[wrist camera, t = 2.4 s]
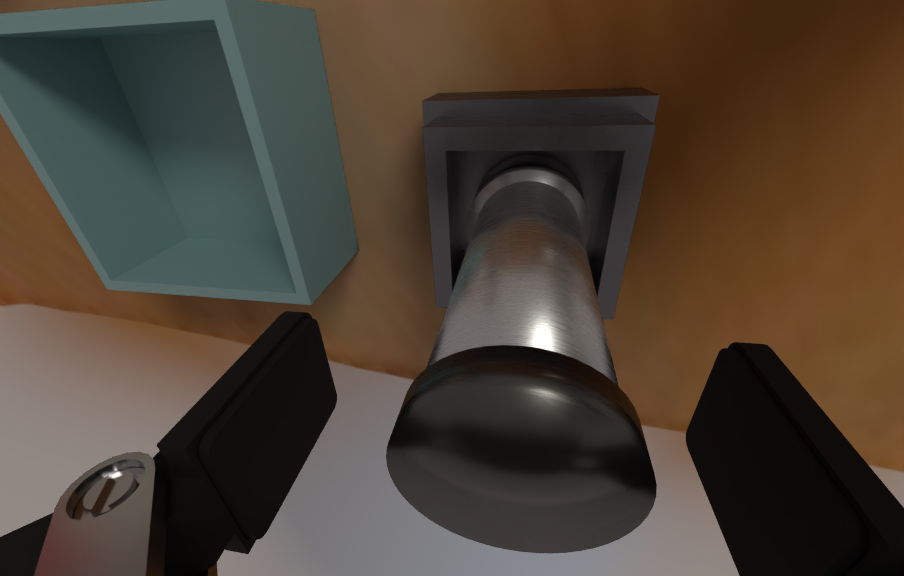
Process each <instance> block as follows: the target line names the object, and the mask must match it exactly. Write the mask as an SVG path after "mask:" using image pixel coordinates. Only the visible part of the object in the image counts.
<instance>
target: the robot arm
mask: <svg viewBox="0 0 904 576" xmlns="http://www.w3.org/2000/svg"><path fill="white" fill-rule="evenodd" d="M336 402H337V393H336V390H335V386H334V382H333V378H332V375H331V371H330V367H329V363H328V359H327V356H326V352H325V348H324V344H323V341H322V337H321V333H320V329H319V326H318V323H317V321H316V320H315V319H312V317H311V315H310V314H309V313H304V312H290V311H287V312H284V313H282V314H281V315H280V316H279V317H278V318H277V319H276V320H275V321H274V322H273V323H272V324H271V325H270V326H269V328H268V329H267V330H266V331H265V332H264V333H263V334H262V335H261V336H260V337H259V338H258V339H257V340H256V341H255V342H254V343H253V344H252V345H251V346H250V348H248V350H247V351H246V352H245V353H244V354H243V355H242V356H241V357H240V358H239V359H238V360H237V361H236V362H235V363H234V364H233V366H231V367H230V368H229V369H228V370H227V372H226V373H225V374H224V375H223V376H222V377H221V378H220V379H219V380H218V381H217V382H216V383H215V384H214V385H213V386H212V387H211V388H210V389H209V390H208V391H207V393H206V394H205V395H204V396H203V397H202V398H201V399H200V400H199V401H198V402H197V403H196V404H195V405H194V406H193V407H192V408H191V409H190V410H189V411H188V412H187V413H186V415H185V416H184V417H183V418H182V419H181V420H180V421H179V422H178V423H177V424H176V425H175V426H174V427H173V428H172V429H171V430H170V431H169V432H168V433H167V435H165V437H164V438H163V439H162V440H161V441H160V442H159V443H158V444H157V447H158V448H159V450H160V451H159V452H158V453H157V454H156V455H155V457H153V458H152V457H151V456H150V455H148V454H145V453H141V452H132V453H125V454H122V455H119V456H115V457H112V458H110V459H108V460H106V461H104V462H102V463H99V464H98V465H96V466H95V467H93V468H91V469H90V470H88V471H87V472H85V473H84V474H83V475H82V476H81V477H79V478H78V479H77V480H76V481H75V482H74V483H72V484H71V485H70V486H69V488H68V489H67V490H66V491H65V493H64V494H63V495H62V496H61V497H60V499H59V502H58V504H57V505H56V507H55V509H54V513H52V514H50V515H47V516H45V517H43V518H41V519H39V520H36V521H34V522H32V523H30V524H28V525H26V526H23V527H21V528H19V529H17V530H15V531H12V532H10V533H8V534H6V535H4V536H2V537H0V576H217V561H218V559H219V558H220V556H221V554H222V553H223V551H224V549H225V550H229V551H234V552H240V553H246V554H249V552H250V550H251V548H252V547H253V545H254V543H255V541H256V539H260V538H262V537H263V536H264V535H265V533H266V532H267V531H268V529H269V527H270V525H271V523H272V521H273V520H274V518H275V516H276V514H277V512H278V511H279V509H280V507H281V505H282V503H283V501H284V499H285V498H286V496H287V494H288V492H289V491H290V489H291V487H292V485H293V483H294V481H295V480H296V478H297V476H298V474H299V472H300V470H301V469H302V467H303V465H304V463H305V461H306V460H307V458H308V456H309V454H310V452H311V450H312V449H313V447H314V445H315V443H316V441H317V439H318V438H319V436H320V434H321V432H322V430H323V429H324V427H325V425H326V423H327V421H328V419H329V418H330V416H331V414H332V412H333V410H334V408H335V405H336ZM686 443H687V447H688V450H689V453H690V455H691V457H692V460H693V462H694V465H695V467H696V470H697V472H698V475H699V477H700V479H701V482H702V484H703V486H704V489H705V491H706V494H707V496H708V499H709V502H710V504H711V506H712V509H713V511H714V514H715V516H716V519H717V521H718V524H719V526H720V529H721V531H722V534H723V536H724V538H725V541H726V543H727V546H728V548H729V551H730V553H731V555H732V558H733V561H734V563H735V565H736V568H737V570H738V573H739V575H740V576H904V508H903V506H902V505H901V504H900V503H899V502H898V500H897V499H896V498H895V497H894V496H893V494H892V493H891V492H890V491H889V490H888V488H887V487H886V486H885V485H884V484H883V482H882V481H881V480H880V479H879V478H878V476H877V475H876V474H875V473H874V472H873V470H872V469H871V468H870V467H869V466H868V464H867V463H866V462H865V461H864V460H863V458H862V457H861V456H860V455H859V454H858V452H857V451H856V450H855V449H854V448H853V446H852V445H851V444H850V443H849V442H848V440H847V439H846V438H845V437H844V436H843V434H842V433H841V432H840V431H839V429H838V428H837V427H836V426H835V425H834V423H833V422H832V421H831V420H830V419H829V417H828V416H827V415H826V414H825V413H824V411H823V410H822V409H821V408H820V407H819V405H818V404H817V403H816V402H815V401H814V399H813V398H812V397H811V396H810V395H809V393H808V392H807V391H806V390H805V389H804V387H803V386H802V385H801V384H800V383H799V381H798V380H797V379H796V378H795V377H794V375H793V374H792V373H791V372H790V371H789V369H788V368H787V367H786V366H785V365H784V363H783V362H782V361H781V360H780V359H779V357H778V356H777V355H776V354H775V353H774V351H773V350H772V349H771V348H770V347H769V346H767V345H764V344H753V343H738V342H735V343H732V344H730V345H729V347H728V348H724V349H721V350H720V352H719V353H718V356H717V358H716V361H715V363H714V366H713V368H712V370H711V373H710V375H709V378H708V380H707V383H706V385H705V388H704V390H703V392H702V395H701V397H700V400H699V402H698V405H697V407H696V410H695V412H694V414H693V417H692V419H691V422H690V424H689V427H688V429H687V432H686Z"/></svg>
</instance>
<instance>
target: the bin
mask: <svg viewBox="0 0 904 576" xmlns="http://www.w3.org/2000/svg"><path fill="white" fill-rule="evenodd" d="M0 114H1V115H2V117H3V118H4V120H5V122H6V123H7V125H8V127H9V128H10V130H11V132H12V133H13V135H14V137H15V138H16V140H17V142H18V143H19V145H20V147H21V148H22V150H23V151H24V153H25V155H26V156H27V158H28V160H29V161H30V163H31V165H32V166H33V168H34V170H35V171H36V173H37V175H38V176H39V178H40V179H41V181H42V183H43V184H44V186H45V188H46V189H47V191H48V193H49V194H50V196H51V198H52V199H53V201H54V203H55V204H56V206H57V208H58V209H59V211H60V212H61V214H62V216H63V217H64V219H65V221H66V222H67V224H68V226H69V227H70V229H71V231H72V232H73V234H74V236H75V237H76V239H77V241H78V242H79V244H80V245H81V247H82V249H83V250H84V252H85V254H86V255H87V257H88V259H89V260H90V262H91V264H92V265H93V267H94V269H95V270H96V272H97V273H98V275H99V277H100V278H101V280H102V282H103V283H104V285H105V287H106V288H107V289H109V290H122V291H135V292H148V293H161V294H174V295H187V296H200V297H213V298H226V299H239V300H252V301H265V302H278V303H291V304H304V305H312V304H313V302H314V301H315V300H316V299H317V298H318V297H319V296H320V294H321V293H322V292H323V291H324V290H325V289H326V287H327V286H328V285H329V284H330V283H331V282H332V281H333V279H334V278H335V277H336V276H337V275H338V274H339V272H340V271H341V270H342V269H343V268H344V267H345V265H346V264H347V263H348V262H349V261H350V260H351V259H352V257H353V256H354V255H355V254H356V253H357V252H358V250H359V248H358V243H357V238H356V232H355V227H354V222H353V216H352V211H351V206H350V200H349V195H348V190H347V184H346V179H345V174H344V168H343V163H342V158H341V152H340V147H339V142H338V136H337V131H336V125H335V120H334V115H333V109H332V104H331V99H330V93H329V88H328V83H327V77H326V72H325V67H324V61H323V56H322V51H321V45H320V40H319V35H318V29H317V24H316V19H315V13H314V10H312V9H306V8H299V7H293V6H287V5H280V4H274V3H268V2H261V1H255V0H163V1H151V2H139V3H127V4H114V5H102V6H90V7H77V8H65V9H53V10H41V11H28V12H16V13H4V14H0Z"/></svg>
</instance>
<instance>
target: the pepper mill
mask: <svg viewBox="0 0 904 576" xmlns="http://www.w3.org/2000/svg"><path fill="white" fill-rule="evenodd" d="M589 234H590V217H589V212H588V209H587V205H586V202H585V199H584V196H583V192H582V189H581V187H580V184H579V182H578V180H577V179H576V177H575V176H574V174H573V173H572V172H571V171H570V170H569V169H568V168H567V167H566V166H564V165H563V164H562V163H560V162H558V161H556V160H555V159H552V158H549V157H547V156H542V155H533V154H529V155H520V156H516V157H513V158H510V159H507V160H505V161H503V162H501V163H500V164H498V165H497V166H495V167H494V168H493V169H492V170H491V171H490V172H489V173H488V174H487V175H486V176H485V178H484V179H483V181H482V182H481V184H480V186H479V188H478V191H477V193H476V195H475V198H474V200H473V203H472V205H471V208H470V211H469V214H468V218H467V237H468V242H469V245H468V248H467V251H466V254H465V256H464V259H463V262H462V265H461V268H460V271H459V274H458V277H457V280H456V283H455V286H454V289H453V292H452V295H451V298H450V300H449V303H448V306H447V309H446V312H445V315H444V318H443V321H442V324H441V327H440V330H439V333H438V336H437V339H436V341H435V344H434V347H433V350H432V353H431V356H430V359H429V362H428V365H427V368H426V369H425V370H424V371H423V372H422V373H420V374H419V376H418V377H417V378H416V379H415V380H414V381H413V383H412V384H411V386H410V388H409V390H408V391H407V394H406V397H405V399H404V402H403V405H402V407H401V410H400V413H399V415H398V418H397V421H396V423H395V426H394V429H393V431H392V434H391V437H390V440H389V443H388V446H387V454H386V459H387V467H388V470H389V473H390V476H391V478H392V480H393V482H394V484H395V486H396V487H397V489H398V490H399V492H400V493H401V494H402V495H403V497H404V498H405V499H406V500H407V501H408V502H409V503H410V504H411V505H412V506H413V507H414V508H415V509H416V510H418V511H419V512H420V513H422V514H423V515H424V516H426V517H427V518H428V519H430V520H431V521H433V522H435V523H436V524H438V525H440V526H442V527H443V528H445V529H447V530H449V531H451V532H453V533H456V534H458V535H460V536H463V537H465V538H468V539H471V540H474V541H477V542H480V543H483V544H486V545H490V546H494V547H499V548H503V549H509V550H515V551H521V552H532V553H566V552H573V551H581V550H586V549H591V548H596V547H599V546H602V545H605V544H608V543H611V542H613V541H615V540H618V539H620V538H621V537H623V536H625V535H627V534H628V533H630V532H632V531H633V530H634V529H635V528H636V527H638V526H639V525H640V524H641V523H642V522H643V521H644V519H645V518H646V517H647V516H648V514H649V513H650V511H651V509H652V507H653V505H654V501H655V498H656V480H655V475H654V471H653V467H652V464H651V460H650V456H649V453H648V449H647V445H646V442H645V438H644V434H643V431H642V427H641V423H640V420H639V417H638V415H637V412H636V410H635V408H634V406H633V404H632V403H631V401H630V400H629V398H628V397H627V395H626V394H625V393H624V392H623V391H622V390H621V389H620V388H619V386H618V382H617V378H616V374H615V370H614V365H613V361H612V357H611V353H610V349H609V345H608V340H607V336H606V332H605V328H604V324H603V319H602V315H601V311H600V307H599V303H598V299H597V294H596V290H595V286H594V282H593V278H592V273H591V269H590V265H589V261H588V257H587V253H586V248H585V247H586V244H587V242H588V238H589Z"/></svg>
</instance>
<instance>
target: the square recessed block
mask: <svg viewBox="0 0 904 576" xmlns="http://www.w3.org/2000/svg"><path fill="white" fill-rule="evenodd" d="M659 99H660V95H658V94H656V93H653V92H651V91H648V90H646V89H643V88H615V89H579V90H542V91H505V92H469V93H438V94H436V95H434V96H431V97H429V98H427V99H425V100H423V101H422V105H423V119H424V127H423V140H424V153H425V166H426V180H427V193H428V206H429V219H430V232H431V246H432V259H433V272H434V285H435V298H436V306H437V307H447V306H448V303H449V300H450V298H451V295H452V292H453V289H454V286H455V283H456V280H457V277H458V274H459V271H460V268H461V265H462V262H463V259H464V256H465V254H466V251H467V248H468V245H469V242H468V237H467V218H468V214H469V211H470V208H471V205H472V203H473V200H474V198H475V195H476V193H477V191H478V188H479V186H480V184H481V182H482V181H483V179H484V178H485V176H486V175H487V174H488V173H489V172H490V171H491V170H492V169H493V168H494V167H495V166H497V165H498V164H500V163H501V162H503V161H505V160H507V159H510V158H513V157H516V156H520V155H529V154H533V155H542V156H547V157H549V158H552V159H555V160H556V161H558V162H560V163H562V164H563V165H564V166H566V167H567V168H568V169H569V170H570V171H571V172H572V173H573V174H574V176H575V177H576V179H577V180H578V182H579V184H580V187H581V189H582V192H583V196H584V199H585V202H586V205H587V209H588V212H589V217H590V234H589V238H588V242H587V244H586V247H585V248H586V253H587V257H588V261H589V265H590V269H591V273H592V278H593V282H594V286H595V290H596V294H597V299H598V303H599V307H600V311H601V315H602V319H613V317H614V312H615V308H616V303H617V299H618V294H619V290H620V285H621V281H622V276H623V272H624V267H625V263H626V258H627V254H628V249H629V245H630V241H631V236H632V232H633V227H634V223H635V218H636V214H637V209H638V205H639V200H640V196H641V191H642V187H643V182H644V178H645V173H646V169H647V164H648V160H649V155H650V151H651V146H652V142H653V138H654V133H655V129H656V124H654V121H655V117H656V112H657V108H658V103H659Z"/></svg>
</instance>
